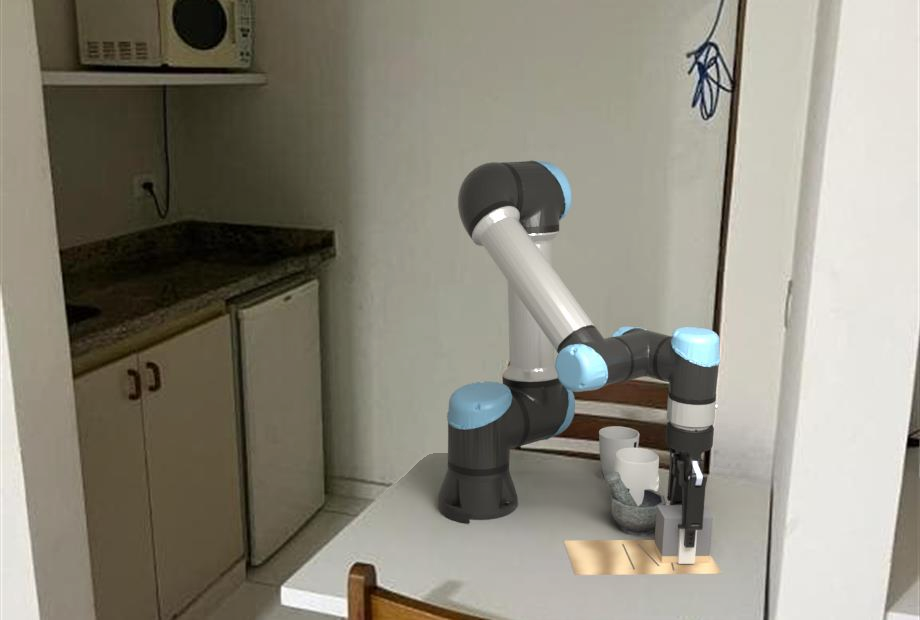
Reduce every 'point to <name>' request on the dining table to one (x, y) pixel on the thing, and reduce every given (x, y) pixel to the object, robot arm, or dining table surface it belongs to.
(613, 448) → the cup
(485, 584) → the dining table surface
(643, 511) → the mortar and pestle
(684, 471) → the robot arm
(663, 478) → the dining table surface
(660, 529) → the block
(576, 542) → the board
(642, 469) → the mug
